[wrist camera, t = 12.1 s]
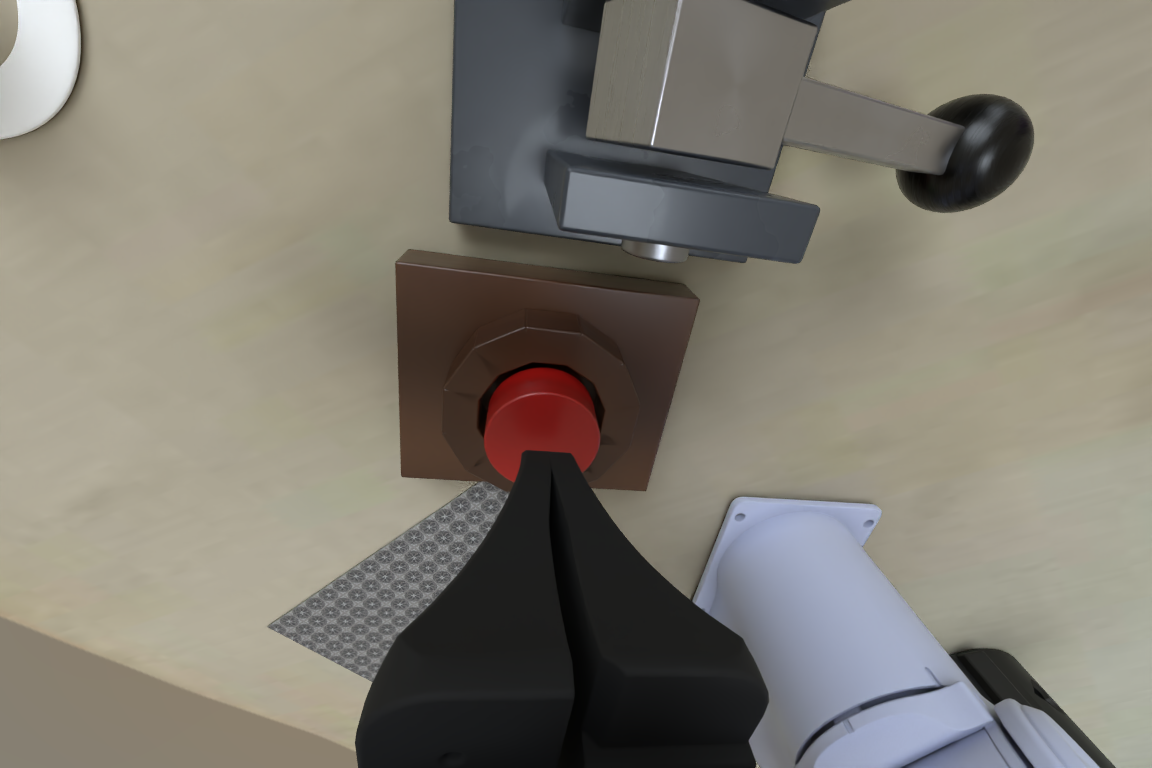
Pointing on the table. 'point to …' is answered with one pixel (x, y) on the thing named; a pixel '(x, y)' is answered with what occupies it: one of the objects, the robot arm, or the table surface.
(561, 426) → the stop button
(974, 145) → the switch lever
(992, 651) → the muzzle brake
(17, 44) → the teacup and saucer
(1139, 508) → the table surface
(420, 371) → the stop block
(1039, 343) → the table surface
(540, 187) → the switch bracket
